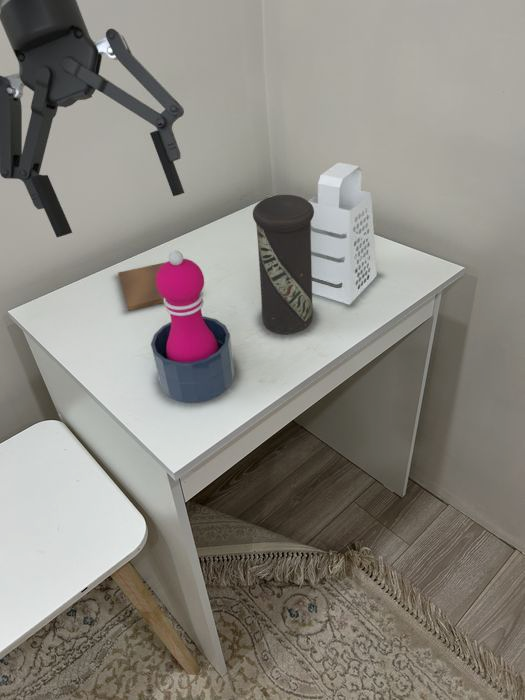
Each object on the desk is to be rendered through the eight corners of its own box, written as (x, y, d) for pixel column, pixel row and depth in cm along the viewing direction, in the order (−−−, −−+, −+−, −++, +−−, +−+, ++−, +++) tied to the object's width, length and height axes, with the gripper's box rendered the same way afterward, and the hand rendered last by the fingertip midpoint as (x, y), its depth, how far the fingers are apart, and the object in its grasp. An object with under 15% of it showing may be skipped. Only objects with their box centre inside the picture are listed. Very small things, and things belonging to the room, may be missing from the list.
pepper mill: (203, 352, 82) (183, 231, 70) (232, 375, 78) (216, 251, 65) (162, 374, 79) (133, 251, 66) (189, 399, 74) (165, 273, 62)
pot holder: (128, 311, 93) (127, 306, 92) (119, 277, 102) (117, 272, 101) (196, 295, 95) (195, 290, 95) (181, 263, 104) (181, 258, 104)
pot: (168, 411, 73) (159, 372, 69) (154, 364, 81) (145, 326, 77) (243, 390, 76) (239, 352, 71) (222, 346, 84) (217, 309, 79)
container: (254, 333, 86) (244, 215, 73) (267, 301, 93) (260, 188, 80) (308, 338, 84) (308, 218, 71) (318, 305, 91) (319, 190, 78)
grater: (376, 275, 97) (386, 164, 84) (349, 304, 90) (355, 189, 78) (325, 261, 102) (327, 154, 89) (295, 287, 95) (293, 176, 83)
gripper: (162, -34, 55) (232, 176, 61) (-53, 56, 58) (34, 246, 64) (143, -64, 48) (224, 177, 54) (-100, 41, 51) (2, 256, 57)
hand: (121, 215), depth 59 cm, fingers open, 13 cm apart
